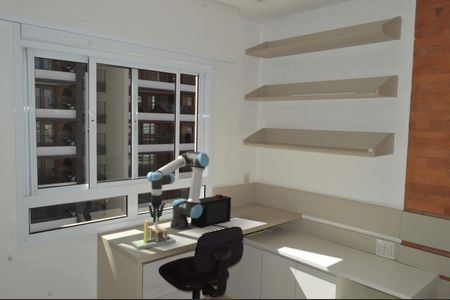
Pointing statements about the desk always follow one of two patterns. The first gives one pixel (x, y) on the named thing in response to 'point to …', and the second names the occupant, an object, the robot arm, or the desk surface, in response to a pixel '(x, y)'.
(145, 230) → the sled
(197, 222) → the speaker
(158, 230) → the tunnel
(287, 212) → the desk surface
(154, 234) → the block
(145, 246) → the deck
